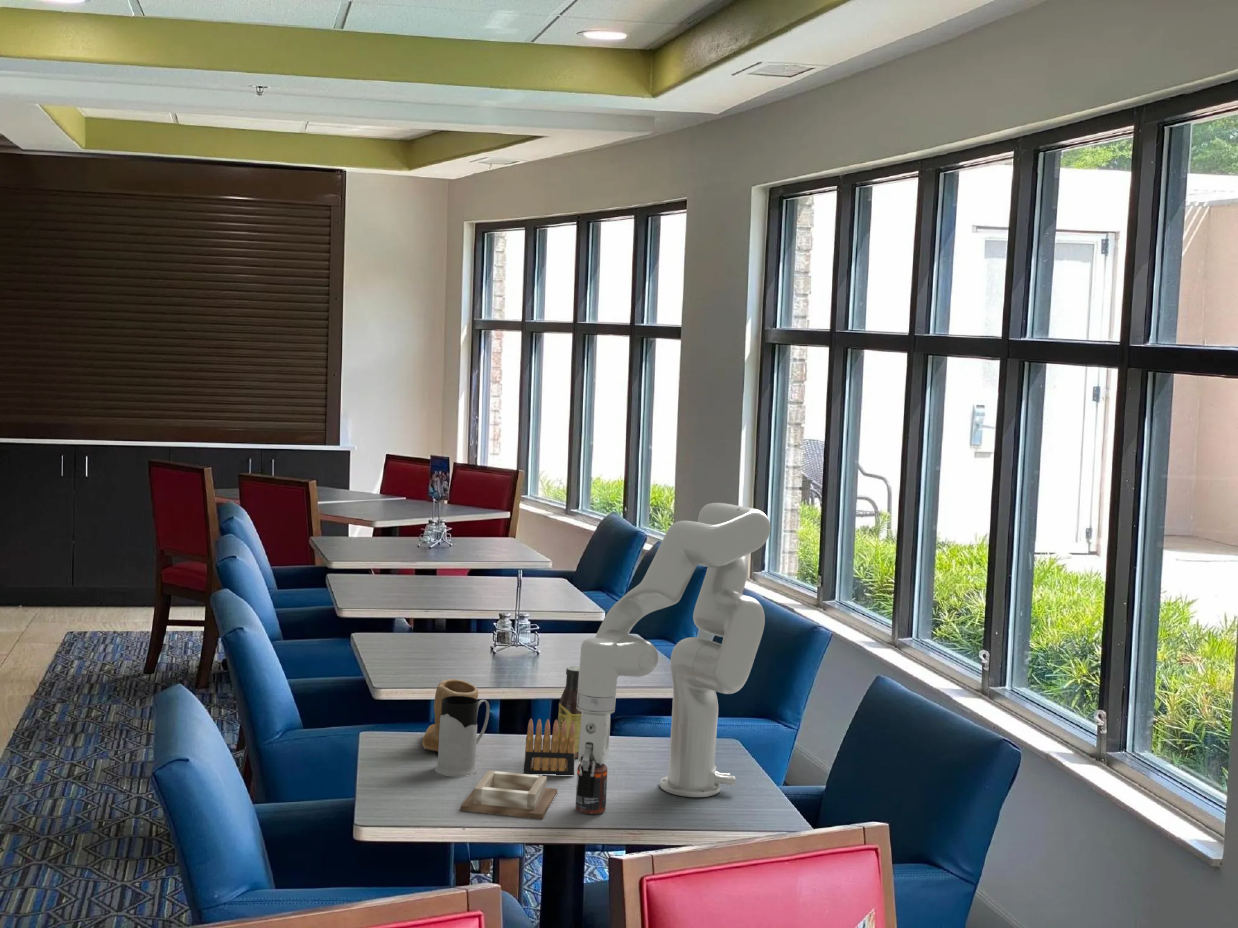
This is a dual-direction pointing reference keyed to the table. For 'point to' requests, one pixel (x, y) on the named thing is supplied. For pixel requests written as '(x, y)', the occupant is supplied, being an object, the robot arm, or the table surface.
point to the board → (511, 795)
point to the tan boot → (443, 690)
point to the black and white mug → (459, 735)
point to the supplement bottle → (599, 799)
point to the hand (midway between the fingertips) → (589, 788)
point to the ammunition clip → (556, 758)
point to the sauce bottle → (570, 706)
